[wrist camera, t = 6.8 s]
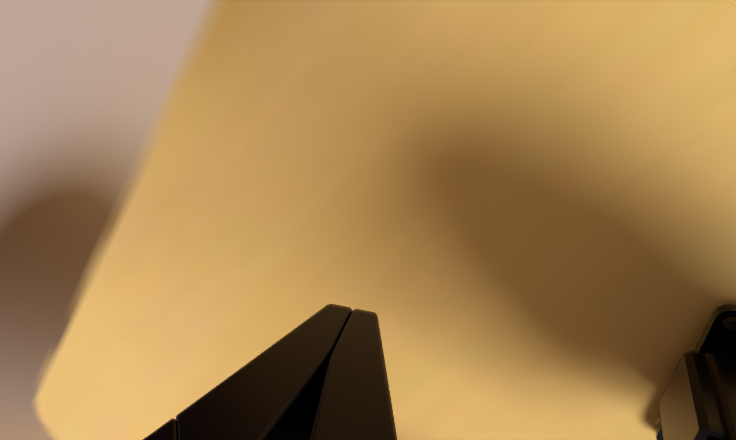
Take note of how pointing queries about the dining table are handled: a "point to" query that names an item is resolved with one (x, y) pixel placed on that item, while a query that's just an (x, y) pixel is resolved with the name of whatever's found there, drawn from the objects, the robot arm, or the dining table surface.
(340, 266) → the dining table surface
